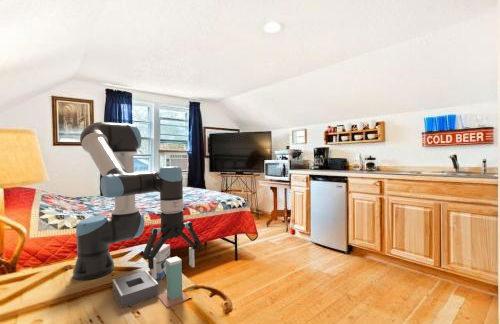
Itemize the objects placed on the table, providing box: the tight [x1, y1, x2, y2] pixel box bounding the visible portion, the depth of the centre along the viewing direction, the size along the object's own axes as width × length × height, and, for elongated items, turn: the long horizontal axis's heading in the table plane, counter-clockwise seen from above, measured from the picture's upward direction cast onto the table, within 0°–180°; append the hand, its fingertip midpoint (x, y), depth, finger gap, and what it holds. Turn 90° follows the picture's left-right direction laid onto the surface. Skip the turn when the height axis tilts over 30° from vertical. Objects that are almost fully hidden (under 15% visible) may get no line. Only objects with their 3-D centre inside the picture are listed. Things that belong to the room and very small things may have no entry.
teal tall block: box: [165, 255, 183, 301], centre depth 90 cm, size 4×4×13 cm
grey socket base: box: [112, 269, 159, 309], centre depth 94 cm, size 14×12×4 cm
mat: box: [157, 291, 190, 309], centre depth 91 cm, size 9×9×1 cm
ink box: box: [149, 243, 171, 281], centre depth 107 cm, size 8×5×12 cm, turn 168°
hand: (173, 271), depth 90 cm, fingers open, 13 cm apart
